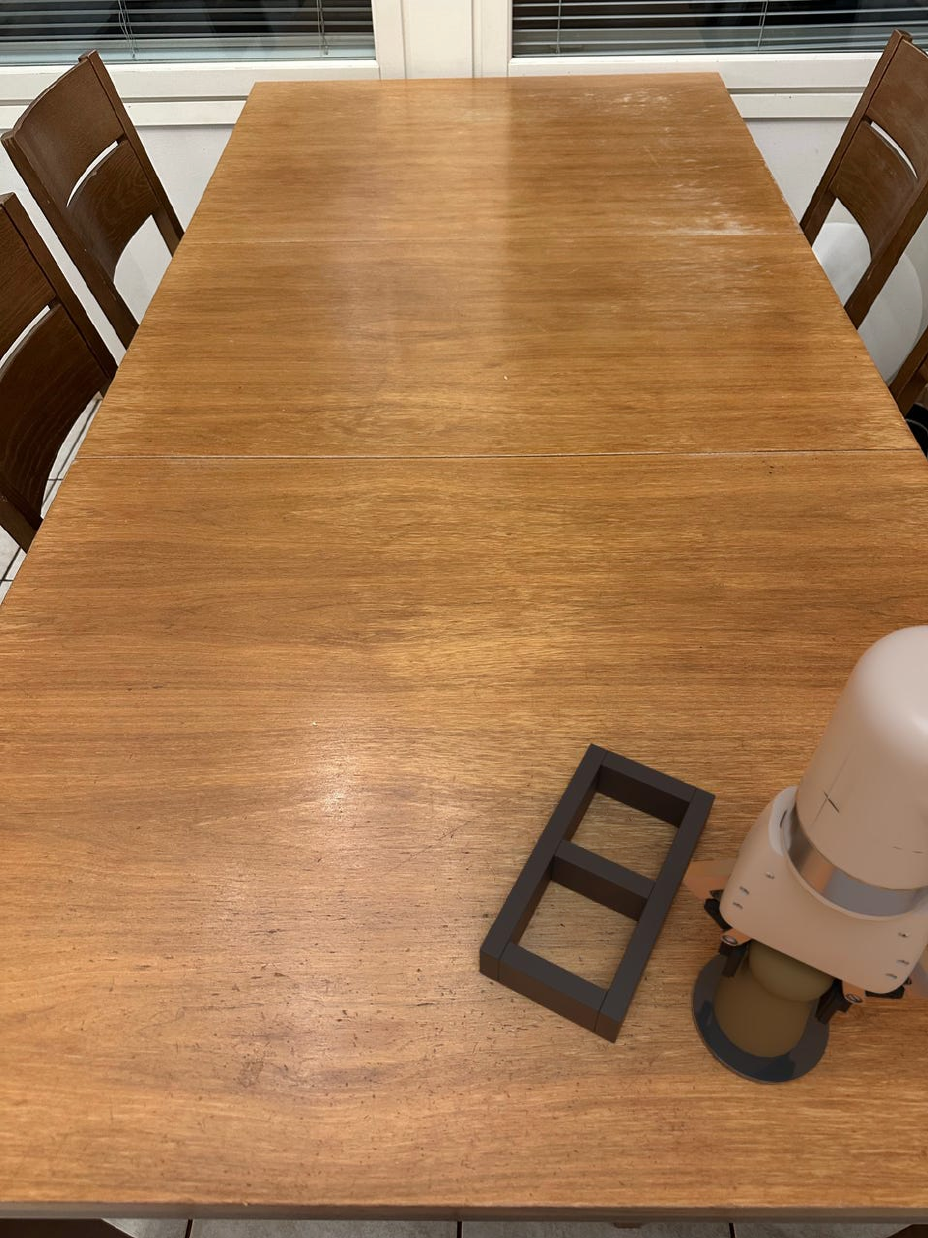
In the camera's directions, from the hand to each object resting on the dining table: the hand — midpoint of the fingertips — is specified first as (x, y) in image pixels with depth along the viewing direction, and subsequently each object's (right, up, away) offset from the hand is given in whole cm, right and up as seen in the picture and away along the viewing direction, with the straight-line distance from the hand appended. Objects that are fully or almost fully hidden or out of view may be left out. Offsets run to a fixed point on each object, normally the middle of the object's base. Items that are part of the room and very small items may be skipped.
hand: (779, 977), depth 59 cm
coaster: (0, -4, +5) cm, 6 cm away
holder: (-10, +2, +11) cm, 15 cm away
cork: (0, -4, +5) cm, 6 cm away
